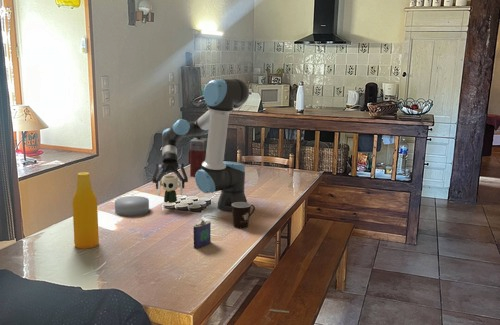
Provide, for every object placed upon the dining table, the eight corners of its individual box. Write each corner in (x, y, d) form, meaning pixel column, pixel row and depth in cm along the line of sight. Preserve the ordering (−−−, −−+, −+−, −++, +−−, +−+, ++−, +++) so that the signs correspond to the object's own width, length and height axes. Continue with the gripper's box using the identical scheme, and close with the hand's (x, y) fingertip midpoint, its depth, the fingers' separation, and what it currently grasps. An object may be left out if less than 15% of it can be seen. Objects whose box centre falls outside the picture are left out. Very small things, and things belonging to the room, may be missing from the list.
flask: (207, 241, 199) (207, 216, 197) (212, 242, 197) (213, 217, 195) (191, 247, 192) (191, 222, 190) (197, 249, 190) (197, 223, 188)
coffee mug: (233, 230, 213) (234, 208, 211) (229, 223, 221) (229, 202, 219) (259, 228, 216) (259, 206, 214) (253, 221, 224) (254, 201, 222)
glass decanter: (190, 173, 314) (190, 130, 308) (207, 174, 312) (207, 131, 306) (186, 176, 305) (186, 132, 299) (203, 177, 303) (204, 133, 297)
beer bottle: (103, 241, 195) (100, 171, 189) (90, 250, 186) (86, 177, 180) (83, 239, 198) (80, 169, 191) (69, 247, 189) (65, 175, 183)
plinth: (153, 213, 232) (153, 203, 231) (119, 217, 225) (119, 207, 224) (143, 204, 246) (143, 194, 245) (111, 208, 238) (111, 198, 237)
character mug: (157, 203, 237) (156, 177, 235) (163, 199, 244) (162, 174, 241) (177, 205, 235) (177, 179, 232) (183, 201, 241) (183, 175, 239)
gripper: (191, 159, 252) (193, 197, 240) (147, 160, 249) (147, 198, 237) (192, 151, 246) (193, 189, 234) (146, 152, 242) (146, 190, 230)
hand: (170, 194), depth 235 cm, fingers closed on character mug, 10 cm apart
